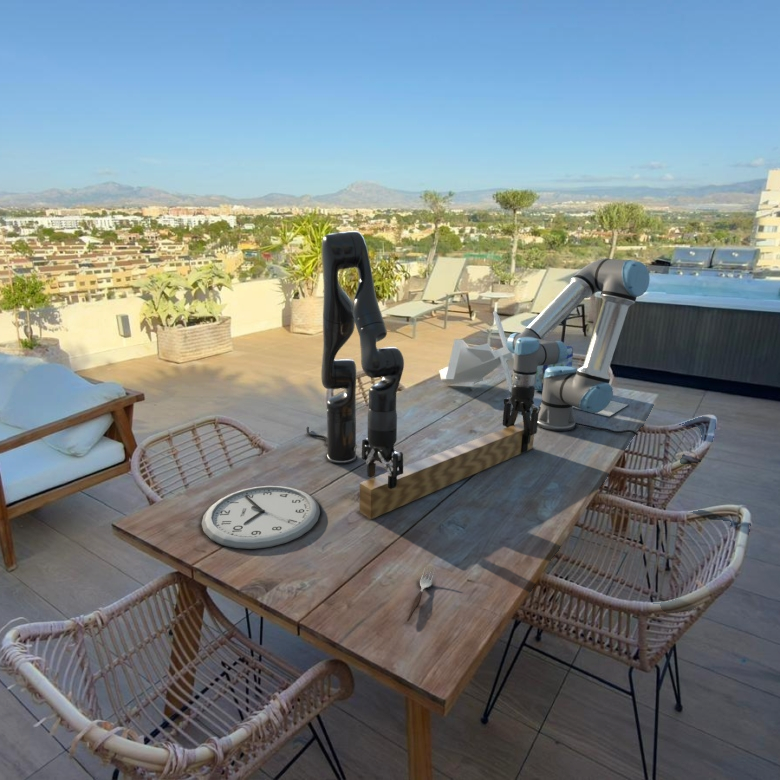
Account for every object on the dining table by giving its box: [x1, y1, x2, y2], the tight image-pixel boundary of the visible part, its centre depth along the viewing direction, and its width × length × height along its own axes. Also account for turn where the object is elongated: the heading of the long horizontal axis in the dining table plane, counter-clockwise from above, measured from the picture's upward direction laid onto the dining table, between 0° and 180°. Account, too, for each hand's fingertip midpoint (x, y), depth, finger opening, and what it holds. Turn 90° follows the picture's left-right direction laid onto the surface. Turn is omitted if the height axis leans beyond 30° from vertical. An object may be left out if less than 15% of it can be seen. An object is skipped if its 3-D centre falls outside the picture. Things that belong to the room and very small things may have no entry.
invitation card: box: [573, 400, 629, 418], centre depth 226 cm, size 21×1×15 cm
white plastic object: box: [438, 310, 514, 393], centre depth 245 cm, size 37×45×31 cm
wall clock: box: [201, 485, 321, 550], centre depth 137 cm, size 30×2×30 cm
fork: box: [406, 565, 436, 622], centre depth 107 cm, size 3×16×2 cm, turn 160°
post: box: [359, 421, 535, 520], centre depth 160 cm, size 73×5×9 cm, turn 131°
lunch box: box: [534, 345, 574, 392], centre depth 248 cm, size 26×11×21 cm, turn 134°
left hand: (381, 482), depth 139 cm, fingers open, 8 cm apart
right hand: (517, 449), depth 180 cm, fingers closed on post, 5 cm apart
